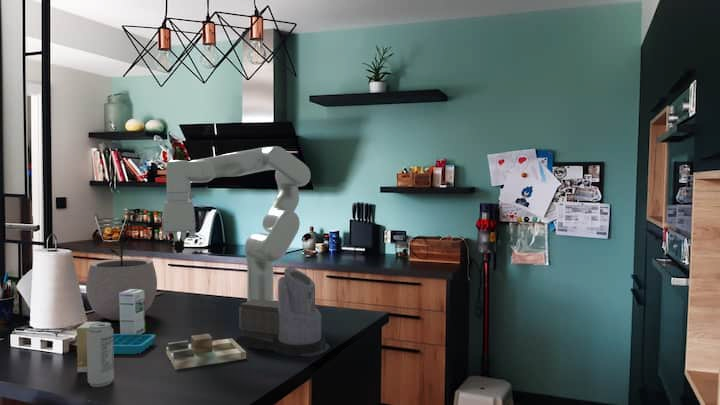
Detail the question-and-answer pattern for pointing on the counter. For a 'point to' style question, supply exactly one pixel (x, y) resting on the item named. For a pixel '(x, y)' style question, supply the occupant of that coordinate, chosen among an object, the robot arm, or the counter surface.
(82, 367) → the skincare box
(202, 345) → the walnut block
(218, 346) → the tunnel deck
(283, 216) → the robot arm
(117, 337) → the ice cube tray
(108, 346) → the energy drink can
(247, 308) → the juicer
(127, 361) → the counter surface
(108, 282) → the plant pot
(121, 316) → the syrup box
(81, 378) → the counter surface
